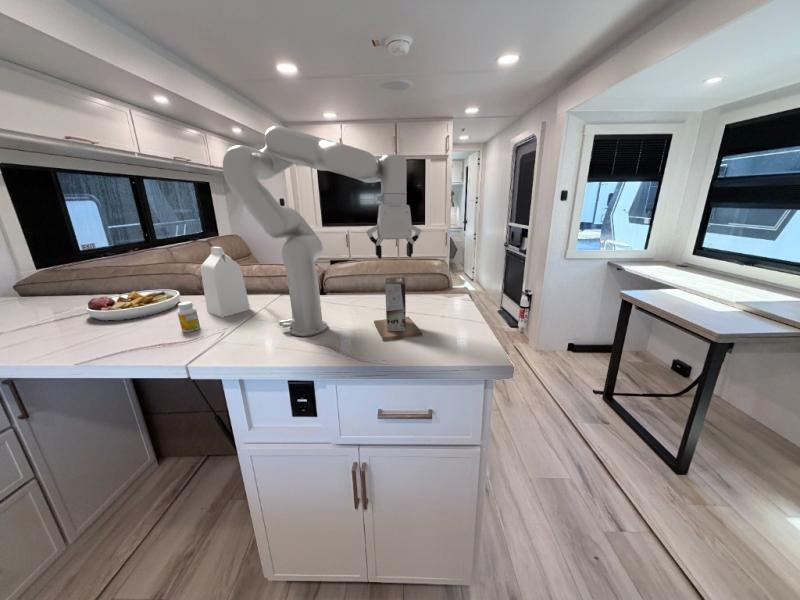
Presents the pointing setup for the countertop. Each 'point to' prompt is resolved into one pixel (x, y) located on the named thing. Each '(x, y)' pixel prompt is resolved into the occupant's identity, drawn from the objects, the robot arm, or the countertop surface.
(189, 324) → the supplement bottle
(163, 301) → the plate of food
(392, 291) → the coffee box
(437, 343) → the countertop surface
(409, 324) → the walnut board
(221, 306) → the milk
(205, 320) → the countertop surface
